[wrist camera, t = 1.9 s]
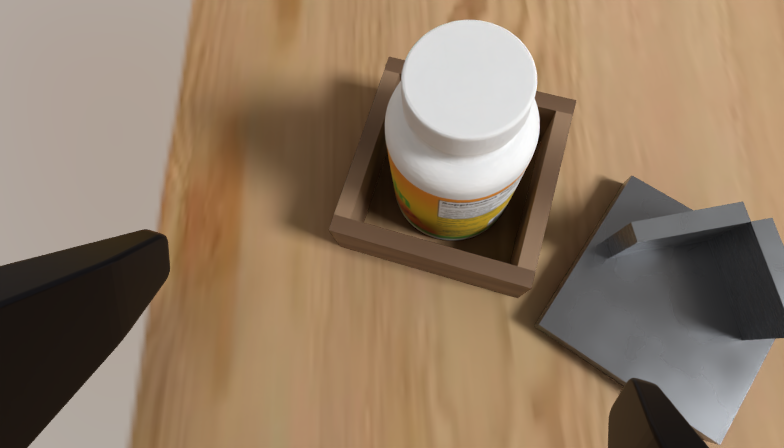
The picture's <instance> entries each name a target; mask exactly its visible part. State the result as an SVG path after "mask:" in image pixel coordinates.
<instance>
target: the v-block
mask: <svg viewBox="0 0 784 448" xmlns="http://www.w3.org/2000/svg"><path fill="white" fill-rule="evenodd" d="M534 327H536V328H537V329H539V330H540V331H542V332H543V333H545V334H546V335H548V336H549V337H551V338H552V339H554V340H555V341H557V342H558V343H560V344H561V345H563V346H564V347H566V348H567V349H569V350H570V351H572V352H573V353H575V354H576V355H578V356H579V357H581V358H582V359H584V360H585V361H587V362H588V363H590V364H591V365H593V366H594V367H596V368H597V369H599V370H600V371H602V372H603V373H605V374H606V375H608V376H609V377H611V378H612V379H614V380H615V381H617V382H618V383H620V384H621V385H623V386H625V384H626V383H627V381H628V380H629V379H631V378H638V379H642V380H645V381H648V382H651V383H654V384H656V385H657V386H658V387H659V388H660V389H661V390H662V391H663V392H664V394H665V395H666V396H667V397H668V398H669V400H670V401H671V402H672V403H673V405H674V406H675V407H676V408H677V409H678V411H679V412H680V413H681V414H682V416H683V417H684V418H685V419H686V420H687V422H688V423H689V424H690V425H691V426H692V428H693V429H694V430H695V431H696V433H697V434H698V435H699V436H700V437H701V438H702V439H704V440H705V441H708V442H711V443H715V444H719V445H720V444H721V443H722V441H723V439H724V437H725V435H726V433H727V431H728V429H729V427H730V425H731V423H732V421H733V419H734V417H735V415H736V414H737V412H738V410H739V408H740V406H741V404H742V402H743V400H744V398H745V396H746V394H747V392H748V390H749V388H750V386H751V385H752V383H753V381H754V379H755V377H756V375H757V373H758V371H759V369H760V367H761V365H762V363H763V361H764V359H765V358H766V356H767V354H768V352H769V350H770V348H771V346H772V344H773V342H774V340H775V338H784V246H783V243H782V241H781V238H780V236H779V233H778V231H777V228H776V226H775V223H774V221H773V218H768V219H763V220H757V221H752V222H751V221H750V218H749V216H748V213H747V210H746V208H745V205H744V203H743V202H738V203H733V204H727V205H722V206H716V207H711V208H706V209H700V210H695V211H693V210H692V209H690V208H688V207H686V206H685V205H683V204H681V203H679V202H678V201H676V200H674V199H672V198H671V197H669V196H667V195H665V194H664V193H662V192H660V191H658V190H657V189H655V188H653V187H651V186H650V185H648V184H646V183H644V182H642V181H641V180H639V179H637V178H635V177H634V176H631V177H630V178H629V179H627V180H626V181H625V182H624V183H623V185H622V186H621V188H620V189H619V191H618V193H617V194H616V196H615V197H614V199H613V201H612V202H611V204H610V205H609V207H608V209H607V210H606V212H605V213H604V215H603V217H602V218H601V220H600V221H599V223H598V225H597V226H596V228H595V229H594V231H593V233H592V234H591V236H590V237H589V239H588V241H587V242H586V244H585V245H584V247H583V249H582V250H581V252H580V253H579V255H578V257H577V258H576V260H575V261H574V263H573V265H572V266H571V268H570V269H569V271H568V273H567V274H566V276H565V277H564V279H563V281H562V282H561V284H560V285H559V287H558V289H557V290H556V292H555V293H554V295H553V297H552V298H551V300H550V301H549V303H548V304H547V306H546V308H545V309H544V311H543V312H542V314H541V316H540V317H539V319H538V320H537V322H536V324H535V325H534Z"/></svg>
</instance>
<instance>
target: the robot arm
mask: <svg viewBox="0 0 784 448" xmlns="http://www.w3.org/2000/svg"><path fill="white" fill-rule="evenodd" d="M169 272H170V260H169V248H168V239H167V238H166V236H165V235H163V234H161V233H158V232H155V231H151V230H147V229H144V230H140V231H136V232H132V233H128V234H124V235H120V236H117V237H112V238H109V239H105V240H101V241H97V242H93V243H89V244H85V245H81V246H77V247H73V248H70V249H66V250H62V251H57V252H54V253H50V254H46V255H42V256H38V257H34V258H31V259H26V260H22V261H18V262H14V263H10V264H7V265H3V266H0V448H27V447H28V446H29V445H30V444H31V443H32V442H33V441H34V440H35V438H36V437H37V436H38V435H39V434H40V433H41V432H42V431H43V429H44V428H45V427H46V426H47V425H48V424H49V423H50V422H51V420H52V419H53V418H54V417H55V416H56V415H57V414H58V413H59V411H60V410H61V409H62V408H63V407H64V406H65V405H66V404H67V402H68V401H69V400H70V399H71V398H72V397H73V396H74V394H75V393H76V392H77V391H78V390H79V389H80V388H81V387H82V385H83V384H84V383H85V382H86V381H87V380H88V379H89V377H90V376H91V375H92V374H93V373H94V372H95V371H96V370H97V369H98V367H99V366H100V365H101V364H102V363H103V362H104V361H105V360H106V358H107V357H108V356H109V355H110V354H111V353H112V352H113V351H114V349H115V348H116V347H117V346H118V345H119V344H120V342H121V341H122V340H123V339H124V337H125V336H126V335H127V333H128V332H129V331H130V330H131V328H132V327H133V325H134V324H135V323H136V321H137V320H138V318H139V317H140V316H141V314H142V313H143V311H144V310H145V309H146V307H147V306H148V305H149V303H150V302H151V300H152V299H153V298H154V296H155V295H156V293H157V292H158V291H159V289H160V288H161V287H162V285H163V284H164V282H165V281H166V279H167V277H168V275H169ZM608 448H709V447H708V446H707V445H706V444H705V442H704V441H703V440H702V439H701V437H700V436H699V435H698V434H697V433H696V431H695V430H694V429H693V428H692V426H691V425H690V424H689V423H688V422H687V420H686V419H685V418H684V417H683V416H682V414H681V413H680V412H679V411H678V409H677V408H676V407H675V406H674V405H673V403H672V402H671V401H670V400H669V398H668V397H667V396H666V395H665V394H664V392H663V391H662V390H661V389H660V388H659V387H658V386H657V385H656V384H654V383H651V382H648V381H645V380H642V379H638V378H631V379H629V380H628V381H627V383H626V384H625V386H624V388H623V389H622V391H621V393H620V394H619V396H618V398H617V399H616V401H615V403H614V404H613V406H612V408H611V411H610V415H609V426H608Z"/></svg>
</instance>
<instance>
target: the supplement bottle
mask: <svg viewBox="0 0 784 448" xmlns="http://www.w3.org/2000/svg"><path fill="white" fill-rule="evenodd" d="M536 89H537V73H536V68H535V64H534V61H533V58H532V56H531V54H530V52H529V51H528V49H527V48H526V46H525V45H524V44H523V43H522V42H521V40H520V39H518V38H517V37H516V36H515V35H514V34H512V33H511V32H510V31H508V30H506V29H504V28H502V27H500V26H498V25H495V24H493V23H489V22H484V21H480V20H459V21H453V22H450V23H446V24H443V25H440V26H438V27H436V28H434V29H432V30H431V31H429V32H428V33H426V34H425V35H424V36H422V37H421V38H420V39H419V40H418V41H417V42H416V43H415V45H414V46H413V47H412V49H411V50H410V52H409V53H408V55H407V57H406V60H405V62H404V65H403V69H402V74H401V81H400V83H399V84H398V86H397V87H396V89H395V90H394V92H393V94H392V96H391V98H390V101H389V103H388V106H387V110H386V116H385V140H386V146H387V151H388V157H389V162H390V169H391V174H392V179H393V185H394V190H395V195H396V199H397V202H398V205H399V208H400V210H401V211H402V213H403V215H404V216H405V218H406V219H407V220H408V221H409V222H410V223H411V224H412V225H413V226H414V227H415V228H416V229H418V230H419V231H421V232H422V233H424V234H426V235H428V236H431V237H433V238H437V239H442V240H463V239H468V238H471V237H474V236H477V235H479V234H481V233H482V232H484V231H486V230H487V229H488V228H490V227H491V226H492V225H493V224H494V223H495V222H496V221H497V220H498V219H499V217H500V216H501V214H502V213H503V212H504V210H505V208H506V206H507V205H508V203H509V201H510V199H511V197H512V195H513V193H514V191H515V189H516V187H517V186H518V184H519V182H520V180H521V178H522V176H523V174H524V172H525V170H526V168H527V166H528V165H529V163H530V161H531V159H532V156H533V154H534V151H535V148H536V146H537V142H538V138H539V129H540V119H539V111H538V107H537V104H536V101H535V94H536Z"/></svg>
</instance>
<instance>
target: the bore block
mask: <svg viewBox="0 0 784 448" xmlns="http://www.w3.org/2000/svg"><path fill="white" fill-rule="evenodd" d="M404 62H405V60H401V59H397V58H392V57H389V58H388V61H387V64H386V67H385V70H384V72H383V75H382V78H381V81H380V84H379V87H378V90H377V93H376V95H375V98H374V101H373V104H372V107H371V110H370V113H369V115H368V118H367V121H366V124H365V127H364V130H363V133H362V136H361V138H360V141H359V144H358V147H357V150H356V153H355V156H354V158H353V161H352V164H351V167H350V170H349V173H348V176H347V179H346V181H345V184H344V187H343V190H342V193H341V196H340V199H339V201H338V204H337V207H336V210H335V213H334V216H333V219H332V222H331V224H330V227H329V231H330V233H331V234H332V235H333V237H334V238H335V240H336V241H337V242H338V244H339V245H340V246H341V247H345V248H348V249H351V250H355V251H358V252H362V253H365V254H369V255H372V256H375V257H379V258H382V259H386V260H389V261H393V262H396V263H399V264H403V265H406V266H410V267H413V268H417V269H420V270H423V271H427V272H430V273H434V274H437V275H441V276H444V277H447V278H451V279H454V280H458V281H461V282H465V283H468V284H471V285H475V286H478V287H482V288H485V289H489V290H492V291H495V292H499V293H502V294H506V295H509V296H513V297H516V298H518V297H520V296H521V295H523V294H524V293H526V292H527V291H528V290H530V289H531V288H532V284H533V280H534V276H535V271H536V267H537V263H538V259H539V255H540V250H541V246H542V242H543V238H544V234H545V229H546V225H547V221H548V217H549V213H550V209H551V204H552V200H553V196H554V192H555V188H556V183H557V179H558V175H559V171H560V167H561V162H562V158H563V154H564V150H565V146H566V141H567V137H568V133H569V129H570V125H571V121H572V116H573V112H574V108H575V104H576V100H572V99H568V98H564V97H559V96H555V95H551V94H547V93H542V92H538V91H536V94H535V101H536V104H537V107H538V111H539V119H540V129H539V138H538V140H540V141H541V142H540V146H539V149H538V153H537V157H536V161H535V165H534V169H533V173H532V177H531V181H530V185H529V189H528V193H527V197H526V201H525V205H524V209H523V213H522V217H521V221H520V225H519V229H518V233H517V237H516V241H515V245H514V248H513V252H512V256H511V260H510V264H508V263H504V262H501V261H497V260H494V259H490V258H487V257H483V256H480V255H476V254H472V253H469V252H465V251H462V250H458V249H455V248H451V247H448V246H444V245H441V244H437V243H434V242H430V241H427V240H423V239H419V238H416V237H412V236H409V235H405V234H402V233H398V232H395V231H391V230H388V229H384V228H381V227H377V226H374V225H370V224H366V223H364V220H365V217H366V214H367V211H368V208H369V205H370V202H371V199H372V196H373V193H374V190H375V187H376V184H377V181H378V178H379V175H380V172H381V169H382V166H383V163H384V160H385V157H386V154H387V146H386V140H385V116H386V110H387V106H388V103H389V101H390V98H391V96H392V94H393V92H394V90H395V89H396V87H397V86H398V84H399V83H400V81H401V74H402V69H403V65H404Z"/></svg>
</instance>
